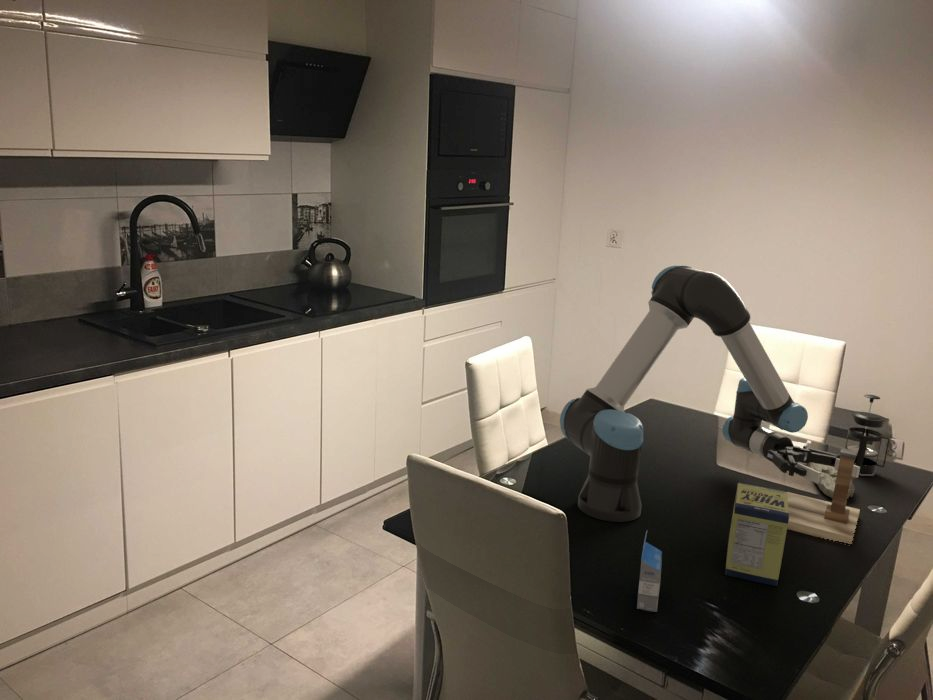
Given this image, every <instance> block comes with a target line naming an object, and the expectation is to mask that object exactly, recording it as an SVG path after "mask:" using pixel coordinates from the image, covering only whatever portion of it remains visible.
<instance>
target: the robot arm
mask: <svg viewBox="0 0 933 700" xmlns="http://www.w3.org/2000/svg"><path fill="white" fill-rule="evenodd" d="M651 289H652V290H651V293H650V294H651V298H650V299H649V301H648V302H647V303H648V308H649V310H648V312H647V313H646V315H645V316H644V318H643V320H642V321H641V322H640V324H639V326H637V328H636V329H635V331H634V332H633V334H632V335H631V336H630V338H629V339H628V340H627V342H626V344H625V345H624V346H623V348H622V349H621V351H619V353H618V355H617V356H616V357H615V359H614V360H613V362H612V363H611V364H610V366H609V368H608V369H607V370H606V372H605V373H604V375H603V376H602V378H601V379H600V380H599V382H598V384H596V386H594V387H591V388H590V387H589V388H587V389H586V390H585V391H584V392H583V394H582V395H581V397H575V398H574V399H571V400H570V401H568V402H567V403H566V404H565V405H564V407H563V408H562V409H561V413H560V417H559V426H560V430H561V433H562V434H563V436H564V437H565V439H567V440H568V442H569V443H570V444H571V445H574V446H575V447H577V448H578V449H580V450H581V451H583V453H585V454H587V455H588V456H589V466H588V475H587V478H586V479H585V482H584V483H583V485H582V488H581V490H580V492H579V494H578V497H577V498H578V500H577V508H578V509H579V510H580V511H581V512H582V513H584V514H585V515H587V516H588V517H591V518H595V519H597V520H601V521H605V522H613V523H625V522H632V521H634V520H637V519H638V518H639V517H640V516H641V513H642V512H641V511H642V502H641V495H640V490H639V486H638V478H639V477H638V476H639V470H640V462H641V456H642V455H641V453H642V448H643V447H642V446H643V443H644V425H643V423H642V422H641V420H640V419H639V418H638V417H637V416H635V415H633V414H631V413H628V412H625V406H626V404H627V403H628V402H629V400H630V399H631V398H632V395H633V394H634V393H635V391H636V390H637V389H638V387H639V385H640V384H641V383H642V381H643V380H644V379H645V378H646V375H648V373H649V371H650V370H651V368H652V367H653V366H654V365H655V364H656V361H657V360H658V359H659V358H660V356H661V355H662V353H663V351H664V350H665V349H666V348H667V346H668V344H669V343H670V342H671V340H672V339H673V337H674V336H675V335H676V333H677V331H678V330H682V329H687V328H688V326H689V325H690V324H691V323H692V321H693V320H694V319H695V318H696V319H699V320H701V322H703V323H705V324H706V325H707V326H708V327H709V328H710V330H711V332H712V333H713V334H714V336H716V337H719V338H721V340H722V342H723V343H724V345H725V347H726V349H727V350H728V352H729V353H730V356H731V357H732V359H733V360H734V362H735V364H736V366H737V367H738V368H739V371H740V372H741V374H742V376H743V378H740V379H739V381H738V384H737V385H738V386H737V389H736V392H735V393H736V395H735V404H734V411H733V415H732V416H730V417H729V416H728V418H727V419H725V421H724V422H725V423H724V424H722V429H721V433H722V436H723V438H724V439H725V440H726V441H728V442H730V443H731V444H733V445H735V446H736V447H739V448H742V449H744V450H746V451H748V452H750V453H752V454H756V455H758V456H759V458H761V459H766V460H767V461H769V462H772V464H773V465H775V466H776V467H777V469H778V470H779V471H780V472H781V473H784V474H786V473H788V476H791V477H793V476H794V475H798V476H799V477H802V478H804V479H806V480H809V481H811V482H813V483H815V484H816V483H819V481H820V475H821V472H819V471H816V470H814V469H812V468H810V467H807V465H806V464H801V463H795V462H802V463H809V462H812V463H817V464H822V465H827V466H833V467H834V468H835V469H837V470H838V467H839V461H840V453H838V454H836V453H833V452H829V451H824V450H821V449H817V448H813V447H808V446H803V448H800V447H798V446H794V445H793V443H792V441H793V440H792V439H791V438H790V437H789V436H787V435H786V436H785V435H783V434H781V433H778V432H776V431H774V430H771V429H770V428H769V429H767V428H764V427H762V426H761V422H762V420H763V421H765V422H767V423H770V425H772V426H774V427H776V428H778V429H779V430H780V431H781V430H782V431H785V432H788V433H797V432H799V431H801V430H803V428H805V426H806V425H807V421H808V420H809V419H808V418H809V413H808V411H807V409H806V408H805V407H804V406H803V405H801V404H800V403H798V402H795V401H794V400H793V399H792V396H791V395H790V393H789V392H788V389H787V387H786V386H785V384H784V382H783V380H782V379H781V377H780V375H779V373H778V372H777V370H776V368H775V366H774V364H773V362H772V360H771V358H770V357H769V356H768V355H769V354H767V352H766V350H765V348H764V346H763V344H762V343H761V341H760V339H759V337H758V335H757V334H756V332H755V330H754V328H753V327H752V325H751V323H750V321H751V319H752V317H751V313H750V312H749V310H748V308H747V306H746V305H745V303H744V301H743V300H742V298H741V297H740V295H739V294H738V293H737V290H735V288H734V287H733V286H732V285H731V284H730V282H728V281H727V280H726V279H725V278H724V277H722V276H721V275H719V274H718V273H715V272H712V271H706V270H703V269H698V268H693V267H691V266H687V265H671V266H668V267H666V268H664V269H662V270H661V271H660V272H659V273H658V274H657V275H656V276H655V277H654V279H653V281H652V285H651ZM805 457H807V458H806V460H804V458H805ZM859 471H860V467H859V466H856V465H854V466H853V471H852V476H853V477H855V478H859V477H860V476H859ZM855 478H854V479H855Z"/></svg>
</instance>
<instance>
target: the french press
mask: <svg viewBox="0 0 933 700" xmlns="http://www.w3.org/2000/svg"><path fill="white" fill-rule="evenodd" d="M863 396H864V397H865V398H867V399H869V403H870V404H869V408H868V412H867V411H852V412H851V416H852V418H853V420H854V422H855V423H856V425H859V426H862V427H859V426H854V427H852V426H851V427H849V428H848V432H847V436H846V440H845V441H846V442H845V447H844V449H848V450H853V451H857V455H856V458H855V461H854V465H856V466H859V467H860V471H859V473H861V474H872V473H875V472H876V473H877V467H879V468H884V467H885V465H886V460H887V454H888V449H889V444H890V439H891V438H890V436H885V435H883V434H882V432H880V431H877V430H873V429H871V428H877V429H878V428H879V429H880V428H882V427H883V426H884V422H886V417H885V416H882V415H880V414H876V413H873V412H871V410H872V404H873V403H874V401H875V400H881V397H880V396H877V395H874V394H864V395H863ZM855 432H856V433H855ZM858 432H859V433H861V434H858ZM869 435H872V436H869ZM849 436H850V437H852V438H854V439H857V440H859V445H854V444H853V445H848V440H849ZM883 439H886V440H887V444H886V447H885V448H886V449H885V453H884V460H883V464H882V463H879V462H878V461H879V457H880V451H881V445H882V442H883V441H882V440H883ZM868 442H872V443H873V442H874V443H877V442H879V447H878V451H876V450H874V449H872V448H869V447H867V445H868ZM875 457H877V458H876V461H875V460H874V459H871V458H875ZM855 463H856V464H855ZM865 465H866V466H865Z"/></svg>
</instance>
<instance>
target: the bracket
mask: <svg viewBox="0 0 933 700" xmlns="http://www.w3.org/2000/svg"><path fill="white" fill-rule="evenodd" d="M791 441H792V443H793V445H794V446H798V447H800V448H803V446H808V447H810V448H812V447H811V446H812V441H811V440H808V439H807V441H806V442H799V441H795V440H791ZM806 458H807V457H805V458H804V460H806ZM795 463H796V464H797V463H801V464H803V465H805V466H807V464H808V463H802V462H795Z"/></svg>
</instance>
